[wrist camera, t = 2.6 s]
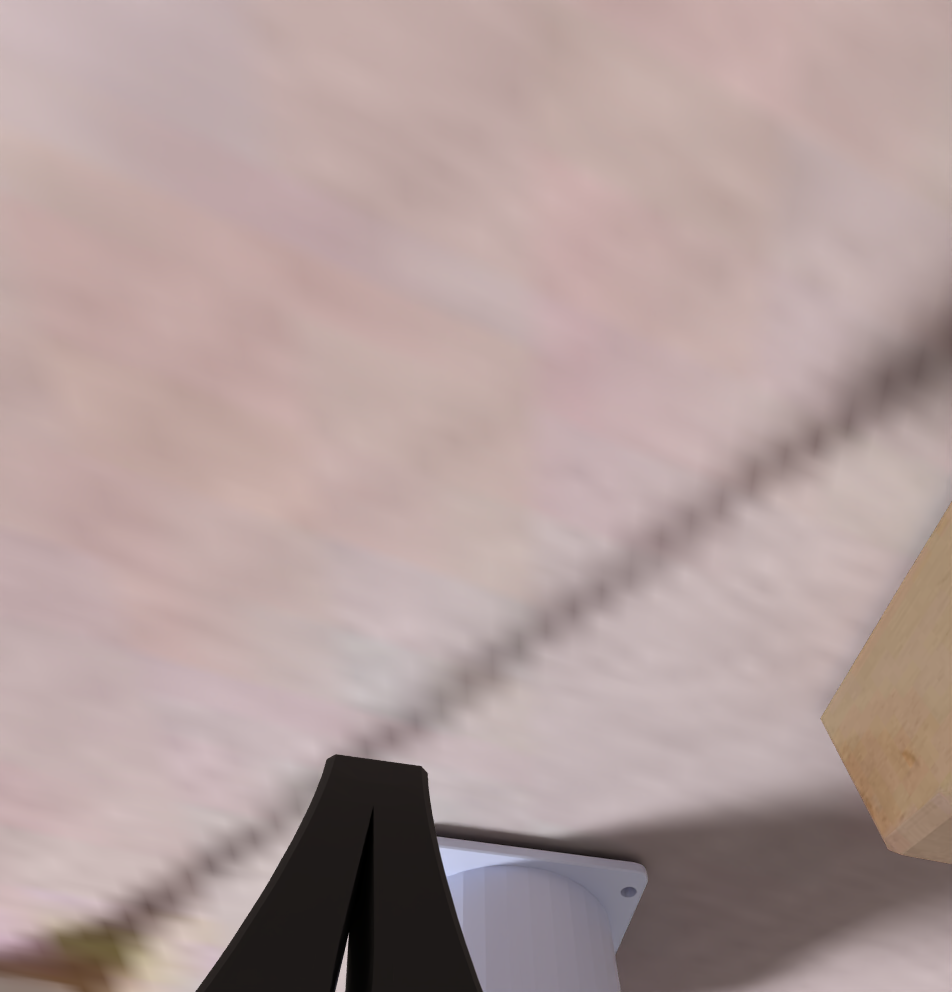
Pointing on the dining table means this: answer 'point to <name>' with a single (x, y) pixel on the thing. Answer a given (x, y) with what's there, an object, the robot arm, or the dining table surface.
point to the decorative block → (905, 710)
